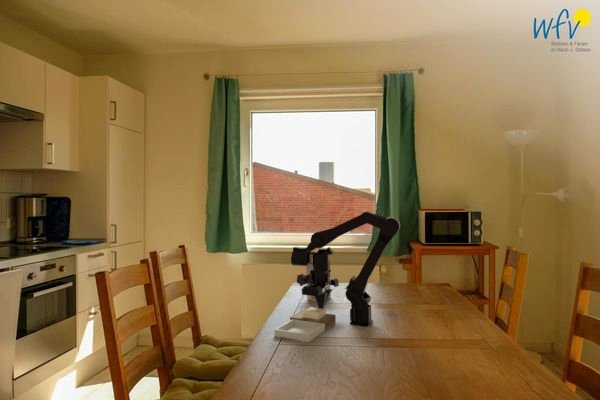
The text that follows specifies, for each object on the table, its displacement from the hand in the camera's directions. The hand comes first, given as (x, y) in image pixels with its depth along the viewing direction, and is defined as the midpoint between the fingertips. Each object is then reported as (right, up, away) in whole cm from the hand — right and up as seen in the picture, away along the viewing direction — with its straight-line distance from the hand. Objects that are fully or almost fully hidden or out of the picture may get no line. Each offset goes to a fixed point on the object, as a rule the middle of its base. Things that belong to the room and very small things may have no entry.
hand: (321, 310), depth 149 cm
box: (-8, -4, -14) cm, 17 cm away
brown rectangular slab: (-3, -4, -5) cm, 7 cm away
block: (-3, -1, -5) cm, 6 cm away
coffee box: (+1, -3, +31) cm, 31 cm away
